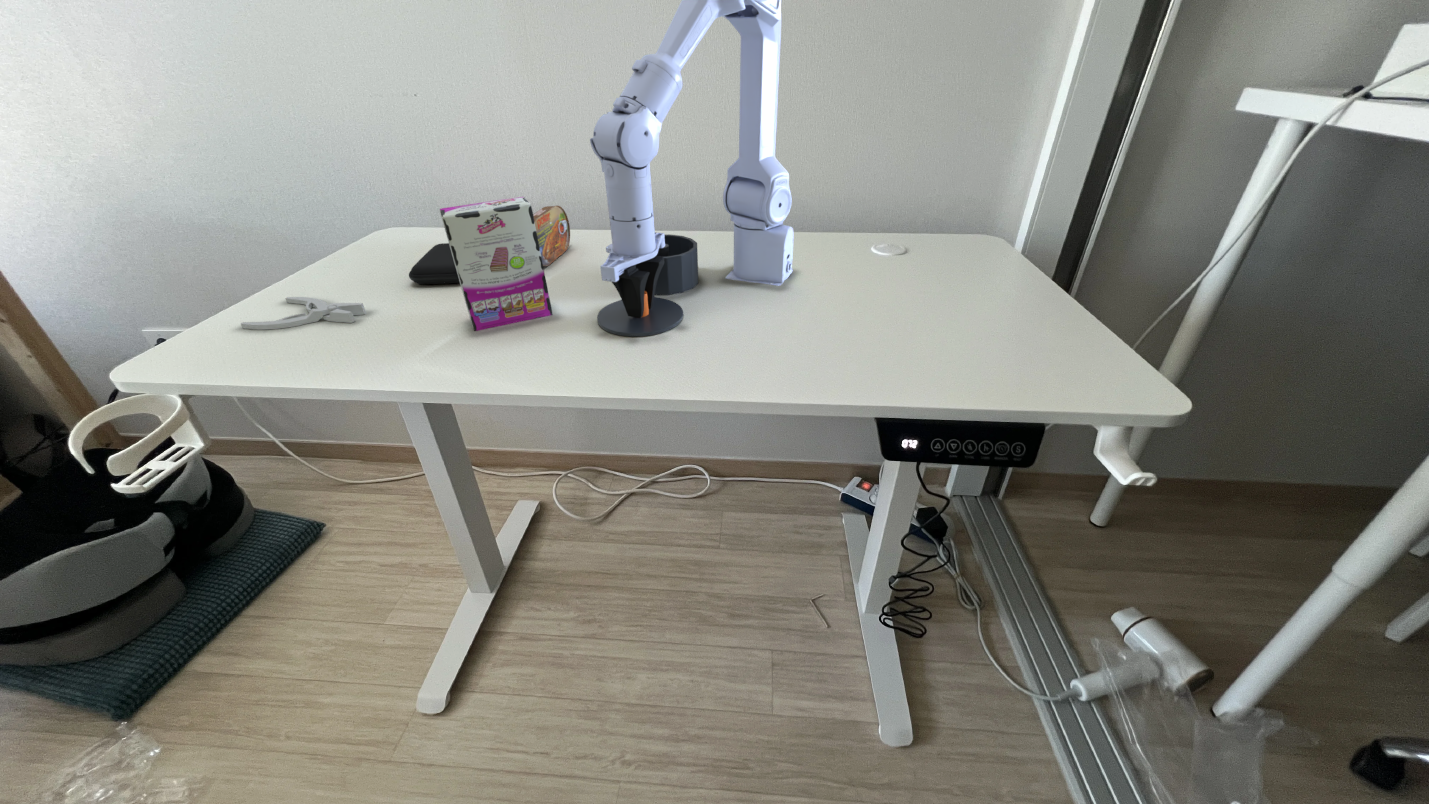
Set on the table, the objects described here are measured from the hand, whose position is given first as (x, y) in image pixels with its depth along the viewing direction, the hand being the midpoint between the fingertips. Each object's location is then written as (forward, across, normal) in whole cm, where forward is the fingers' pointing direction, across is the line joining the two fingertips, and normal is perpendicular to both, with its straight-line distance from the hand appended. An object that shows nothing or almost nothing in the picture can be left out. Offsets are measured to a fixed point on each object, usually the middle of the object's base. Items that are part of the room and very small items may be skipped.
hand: (640, 311), depth 83 cm
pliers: (+2, +15, -47) cm, 49 cm away
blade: (+1, -13, -3) cm, 14 cm away
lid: (+1, 0, 0) cm, 1 cm away
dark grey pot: (+2, -14, -3) cm, 14 cm away
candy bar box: (+2, +6, -18) cm, 19 cm away
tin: (+2, -18, -28) cm, 33 cm away
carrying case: (+2, -7, -40) cm, 41 cm away
